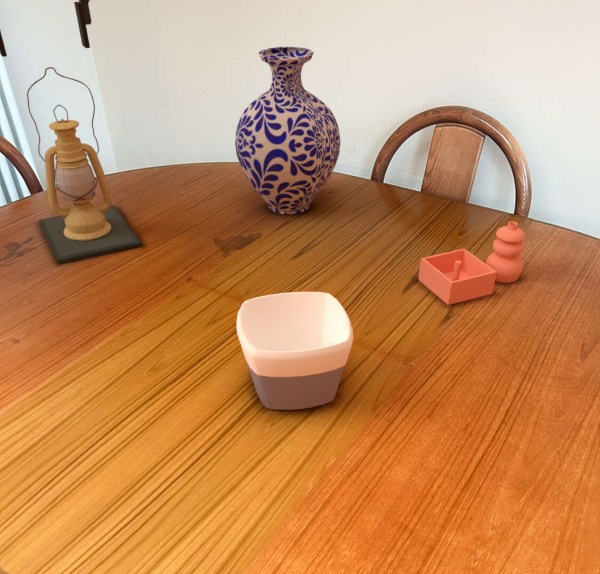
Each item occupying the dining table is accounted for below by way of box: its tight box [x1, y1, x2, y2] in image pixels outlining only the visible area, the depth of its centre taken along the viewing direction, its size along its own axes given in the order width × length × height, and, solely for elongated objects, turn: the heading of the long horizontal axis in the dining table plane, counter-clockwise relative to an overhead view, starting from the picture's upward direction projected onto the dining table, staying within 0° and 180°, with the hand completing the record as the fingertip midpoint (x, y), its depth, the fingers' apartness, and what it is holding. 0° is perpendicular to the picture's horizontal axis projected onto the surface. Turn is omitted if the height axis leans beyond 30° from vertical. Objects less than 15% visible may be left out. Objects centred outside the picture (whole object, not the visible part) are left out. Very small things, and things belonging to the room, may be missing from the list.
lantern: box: [26, 66, 113, 241], centre depth 122 cm, size 12×10×30 cm
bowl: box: [236, 291, 354, 411], centre depth 90 cm, size 15×15×11 cm
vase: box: [234, 46, 341, 215], centre depth 133 cm, size 22×22×30 cm
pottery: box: [417, 221, 526, 306], centre depth 114 cm, size 18×10×10 cm, turn 114°
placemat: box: [38, 204, 143, 265], centre depth 132 cm, size 16×20×1 cm
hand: (45, 50), depth 111 cm, fingers open, 13 cm apart
